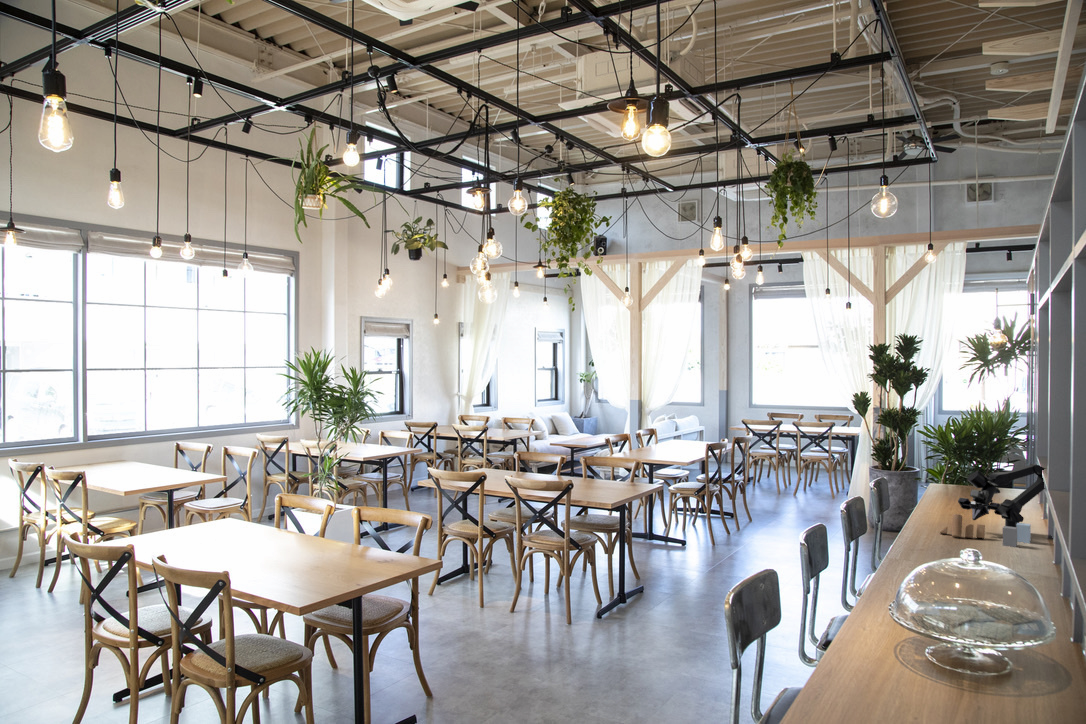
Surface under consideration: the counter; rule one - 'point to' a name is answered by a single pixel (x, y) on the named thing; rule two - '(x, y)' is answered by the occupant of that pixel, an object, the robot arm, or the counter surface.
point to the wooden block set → (968, 532)
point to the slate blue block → (1023, 532)
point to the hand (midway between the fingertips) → (973, 519)
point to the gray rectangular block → (1010, 536)
